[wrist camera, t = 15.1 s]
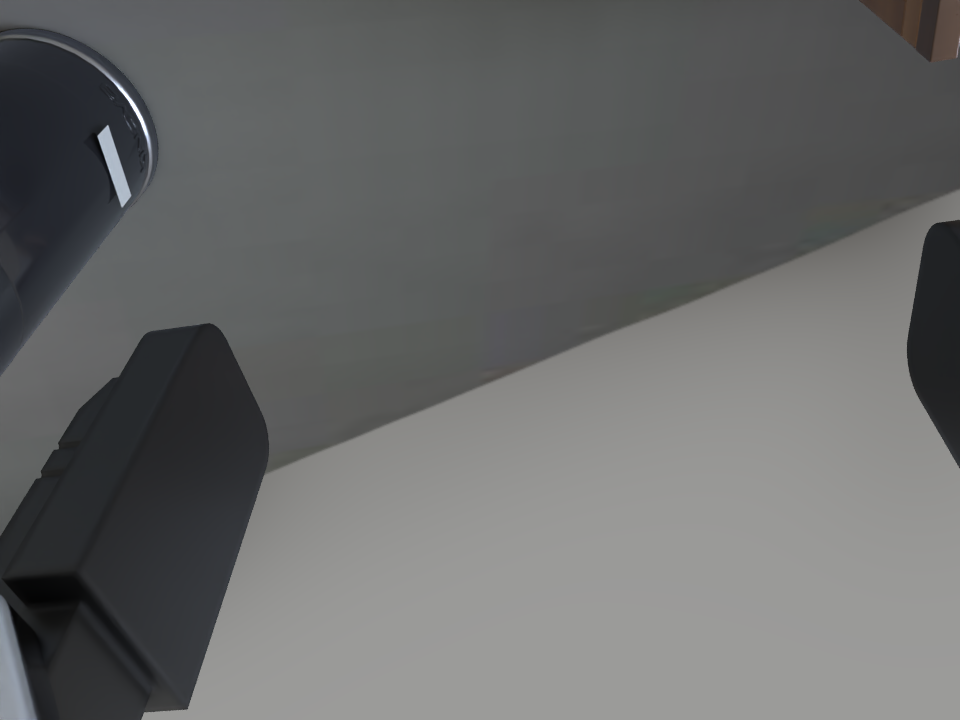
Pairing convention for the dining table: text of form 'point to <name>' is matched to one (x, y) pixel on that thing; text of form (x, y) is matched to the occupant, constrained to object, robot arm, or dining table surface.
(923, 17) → the shelf
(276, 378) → the dining table surface
